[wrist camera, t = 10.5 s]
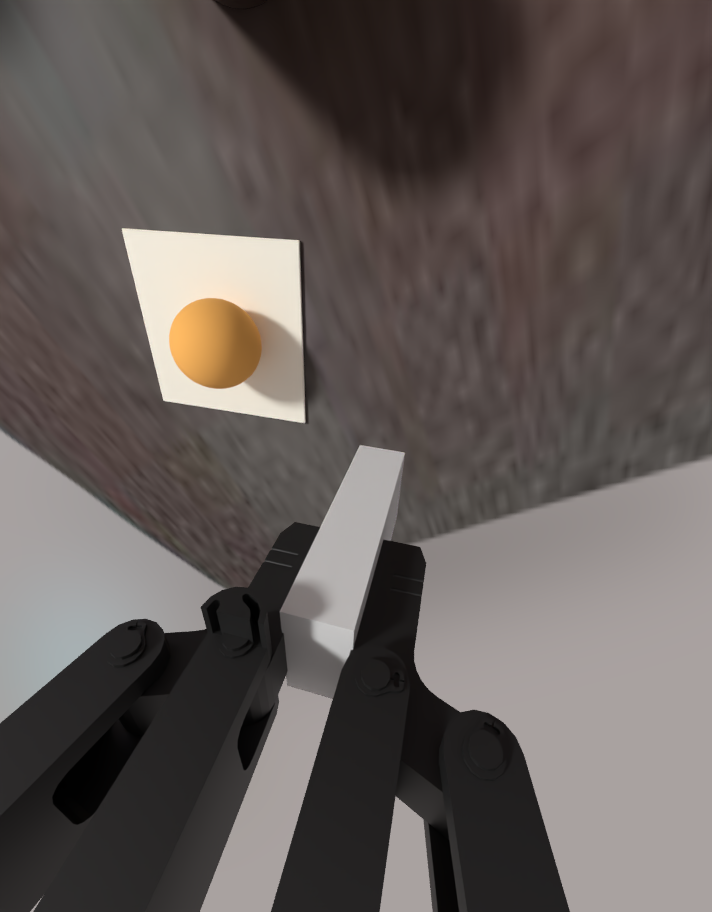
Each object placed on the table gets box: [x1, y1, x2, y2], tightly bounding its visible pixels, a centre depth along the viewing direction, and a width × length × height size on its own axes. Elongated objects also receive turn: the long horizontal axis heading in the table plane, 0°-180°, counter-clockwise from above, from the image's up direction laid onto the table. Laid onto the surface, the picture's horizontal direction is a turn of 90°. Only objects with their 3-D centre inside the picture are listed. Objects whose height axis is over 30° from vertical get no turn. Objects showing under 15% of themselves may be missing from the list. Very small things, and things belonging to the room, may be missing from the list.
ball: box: [169, 298, 262, 389], centre depth 25 cm, size 6×6×6 cm
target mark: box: [122, 228, 306, 423], centre depth 27 cm, size 12×12×1 cm
